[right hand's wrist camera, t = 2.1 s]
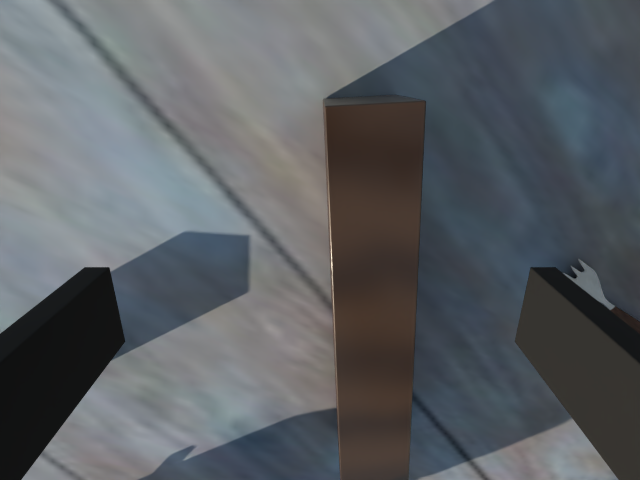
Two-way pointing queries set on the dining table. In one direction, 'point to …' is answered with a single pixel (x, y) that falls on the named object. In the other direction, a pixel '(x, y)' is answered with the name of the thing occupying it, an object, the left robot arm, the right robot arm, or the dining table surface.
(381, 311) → the plank
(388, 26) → the dining table surface
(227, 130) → the dining table surface
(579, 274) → the fork
